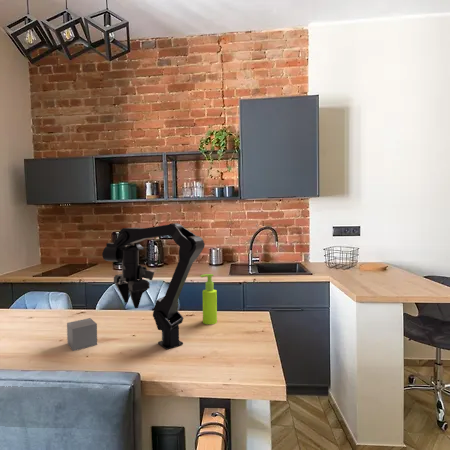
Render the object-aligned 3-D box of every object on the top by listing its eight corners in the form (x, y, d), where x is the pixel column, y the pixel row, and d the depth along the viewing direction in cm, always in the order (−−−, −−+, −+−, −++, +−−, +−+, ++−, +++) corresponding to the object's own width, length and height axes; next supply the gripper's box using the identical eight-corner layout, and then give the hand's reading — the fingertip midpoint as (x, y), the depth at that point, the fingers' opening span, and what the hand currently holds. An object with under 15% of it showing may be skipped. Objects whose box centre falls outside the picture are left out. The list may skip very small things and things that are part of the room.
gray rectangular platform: (97, 344, 105) (96, 323, 104) (72, 351, 100) (72, 329, 100) (90, 337, 111) (90, 317, 110) (67, 343, 106) (66, 322, 106)
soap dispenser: (198, 321, 127) (198, 273, 127) (213, 318, 130) (213, 272, 130) (203, 325, 122) (202, 276, 122) (219, 323, 125) (218, 274, 124)
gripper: (163, 262, 107) (163, 306, 108) (140, 257, 122) (141, 296, 122) (132, 266, 100) (133, 313, 101) (112, 260, 115) (113, 301, 115)
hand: (131, 305), depth 110 cm, fingers open, 9 cm apart
